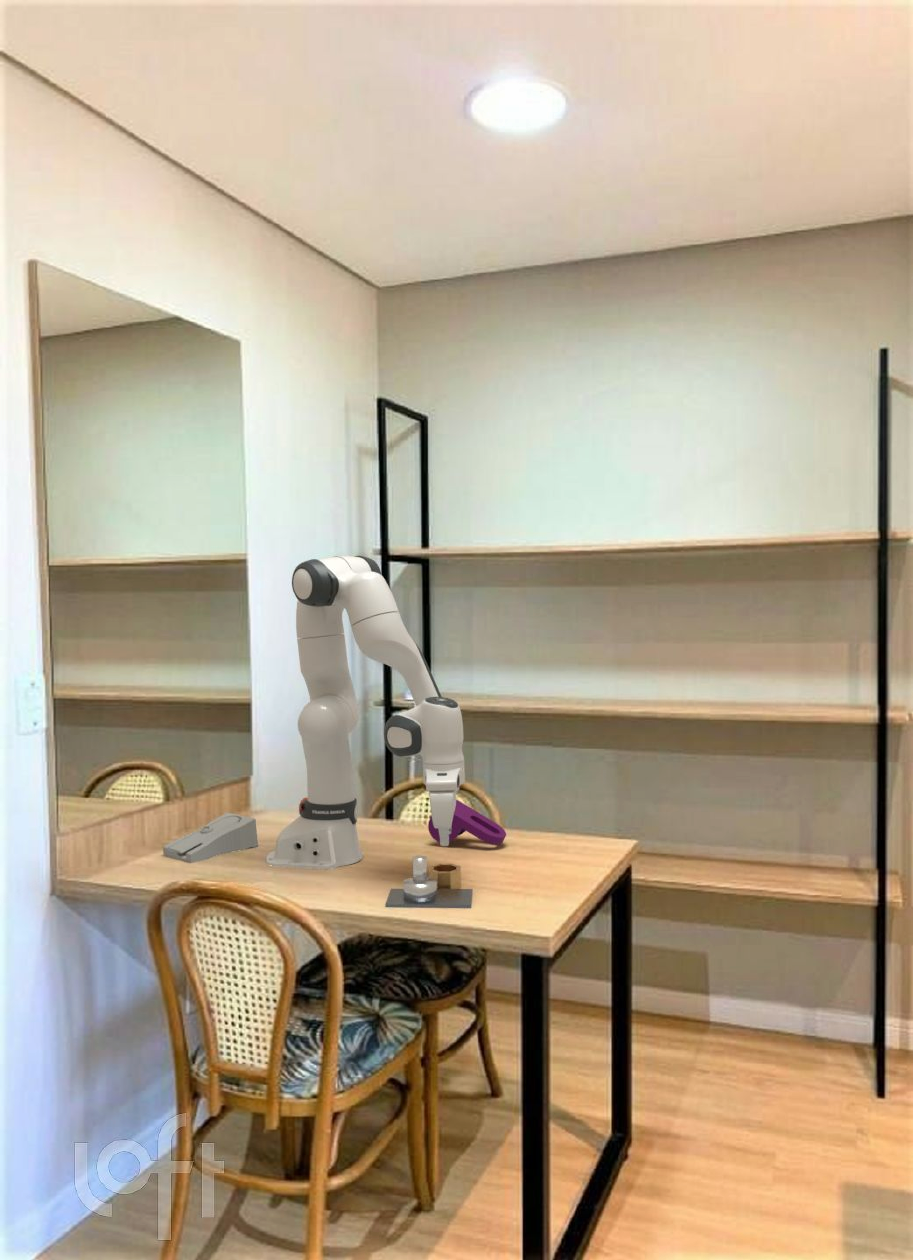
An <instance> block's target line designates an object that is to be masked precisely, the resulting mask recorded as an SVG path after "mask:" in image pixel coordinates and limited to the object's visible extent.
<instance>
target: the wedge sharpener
mask: <svg viewBox="0 0 913 1260" xmlns="http://www.w3.org/2000/svg"><path fill="white" fill-rule="evenodd" d="M258 840H259V839H258V831H257V821H256V818H253V817H248V816H245V815H239V814H235V813H231V812H225V813H224V814H222V815H220V816H219V817H217V818H214V819H213V820H211V821H210V822H208V823H207V824H205V826H203V827H201V828H199V829H197V830H195V831H193V832H191V833H188V834H186V835H184V836H180V837H179V838H177V839H175V840H173V841H171V842H169V843H168V844H165V845H164V846H163V847H162V851H163V853H162V854H163V856H164V857H167V858H171V859H175V860H177V861H178V860H179V861H182V862H185V863H190V864H192V863H193V864H194V863H197V862H201V861H205V860H209V859H212V858H214V856H215V857H217V856H216V855H218V856H220V855H219V854H222V855H226V854H230V853H233V852H232V851H235V852H239V851H238V850H242V851H244V850H243V849H245V850H247V849H246V848H249V847H253V848H256V847H258V846H259V843H258V842H259V841H258ZM249 849H250V848H249Z"/></svg>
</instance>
